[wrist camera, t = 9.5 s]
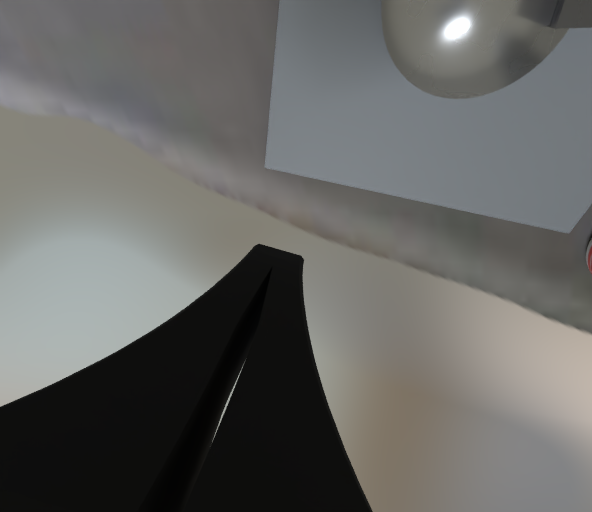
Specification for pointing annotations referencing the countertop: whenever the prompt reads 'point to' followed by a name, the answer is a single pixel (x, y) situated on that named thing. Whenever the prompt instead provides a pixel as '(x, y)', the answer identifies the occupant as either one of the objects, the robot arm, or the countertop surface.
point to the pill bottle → (589, 256)
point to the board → (429, 122)
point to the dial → (475, 40)
